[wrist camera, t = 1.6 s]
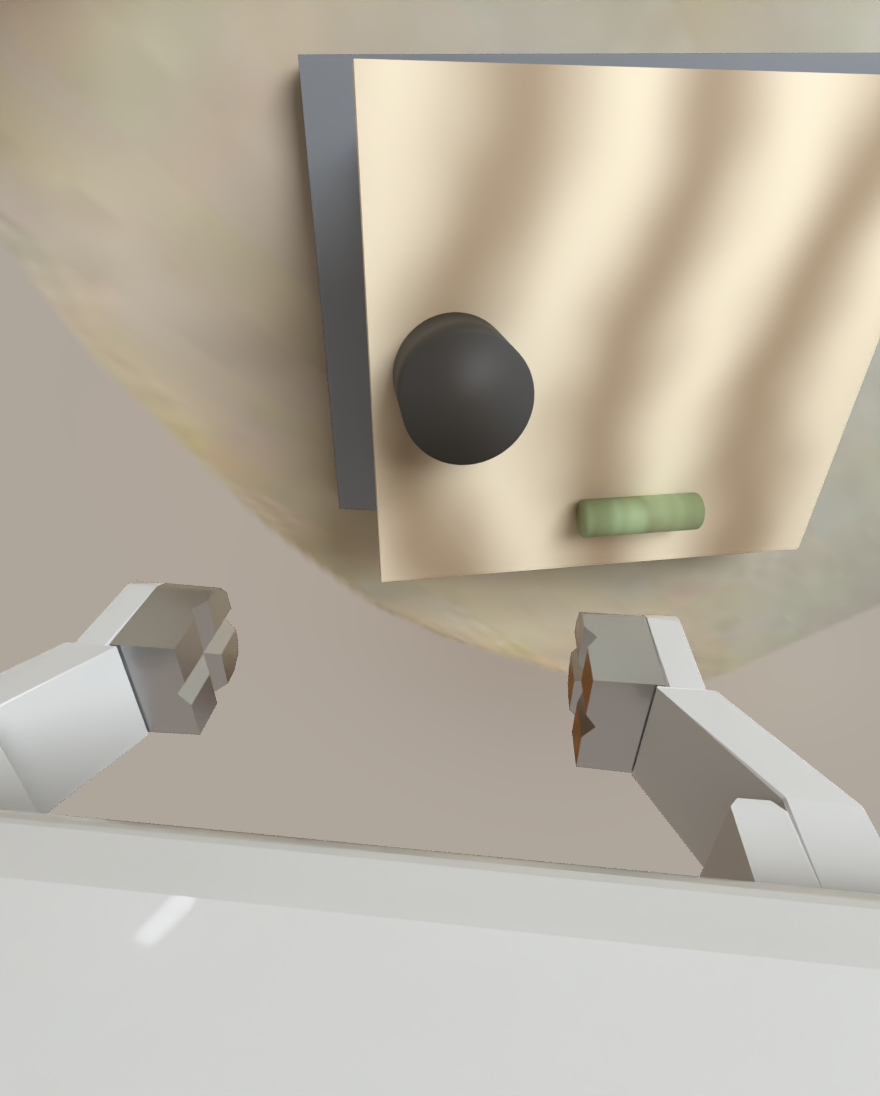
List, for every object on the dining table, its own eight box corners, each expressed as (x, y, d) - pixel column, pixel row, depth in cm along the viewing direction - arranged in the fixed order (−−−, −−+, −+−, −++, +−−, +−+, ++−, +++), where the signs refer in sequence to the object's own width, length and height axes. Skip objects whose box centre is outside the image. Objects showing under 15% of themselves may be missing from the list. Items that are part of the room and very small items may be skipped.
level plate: (948, 81, 21) (1075, 65, 17) (782, 535, 30) (841, 585, 27) (352, 64, 18) (357, 41, 15) (379, 566, 28) (386, 625, 24)
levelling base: (931, 58, 23) (993, 43, 20) (771, 518, 34) (796, 552, 31) (308, 59, 25) (281, 46, 22) (345, 495, 36) (330, 526, 33)
